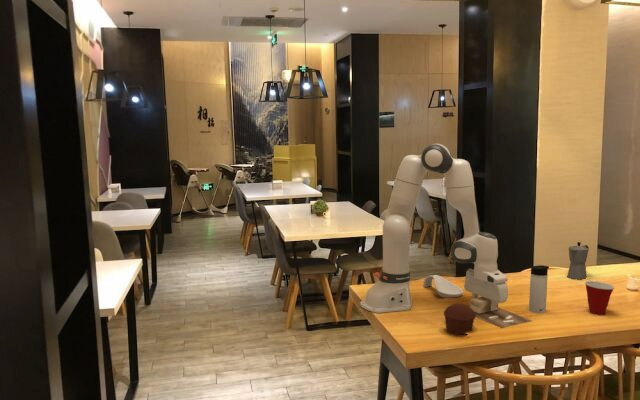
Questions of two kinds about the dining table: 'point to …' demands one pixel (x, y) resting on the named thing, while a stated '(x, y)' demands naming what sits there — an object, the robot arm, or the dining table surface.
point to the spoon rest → (443, 287)
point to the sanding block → (481, 305)
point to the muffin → (459, 319)
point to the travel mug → (538, 289)
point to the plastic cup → (598, 296)
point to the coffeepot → (578, 262)
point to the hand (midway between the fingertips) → (484, 307)
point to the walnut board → (502, 318)
